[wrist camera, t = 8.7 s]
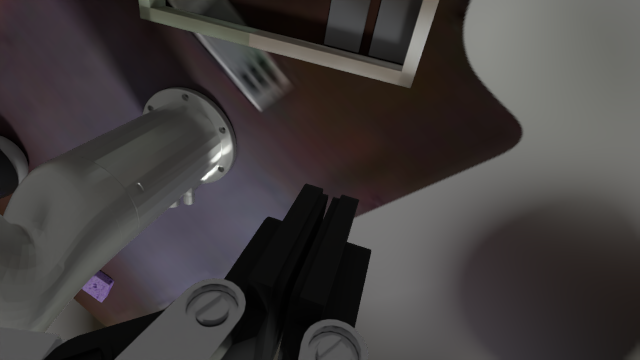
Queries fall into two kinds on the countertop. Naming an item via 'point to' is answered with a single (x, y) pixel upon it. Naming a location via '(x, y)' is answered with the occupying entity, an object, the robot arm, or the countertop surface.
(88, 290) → the sponges
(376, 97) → the countertop surface
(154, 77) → the countertop surface
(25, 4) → the countertop surface
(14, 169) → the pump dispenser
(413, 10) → the rectangular open frame tray
